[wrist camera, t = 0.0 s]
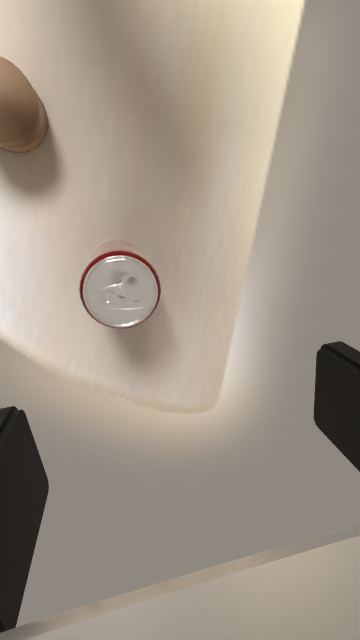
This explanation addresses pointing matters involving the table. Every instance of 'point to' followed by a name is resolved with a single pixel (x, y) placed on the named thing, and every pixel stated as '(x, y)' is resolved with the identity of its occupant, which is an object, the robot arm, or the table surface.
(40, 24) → the table surface
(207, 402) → the table surface
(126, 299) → the soda can
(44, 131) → the tan short cylinder
